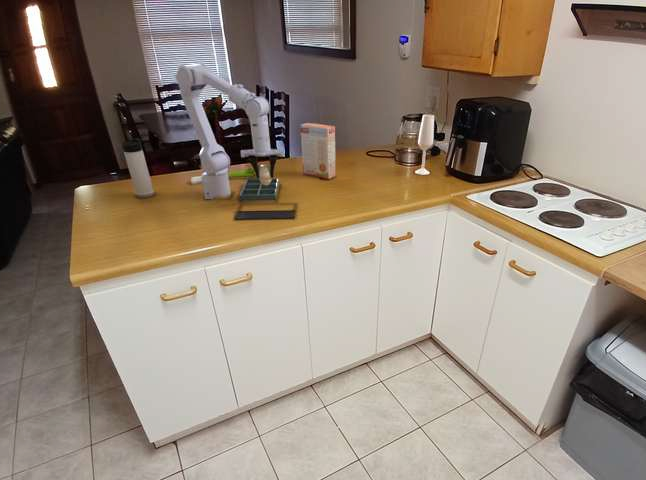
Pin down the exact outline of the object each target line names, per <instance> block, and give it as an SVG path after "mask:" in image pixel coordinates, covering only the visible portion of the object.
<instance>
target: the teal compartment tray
mask: <svg viewBox="0 0 646 480" xmlns="http://www.w3.org/2000/svg"><path fill="white" fill-rule="evenodd" d="M280 181H281V180H280V178H278V177H277V178H276V177H275V178H272V180H271V182H270V183H269V185H263V184H262V183H261V182H260V180H259V179H258V178H246V180H245V182H244V184H243V186H242V189H241V191H240V193H239V201H241V202H244V201H245V202H246V201H248V202H249V201H252V202H253V201H254V202H255V201H277V198H278V193H279V188H280V184H281V182H280Z"/></svg>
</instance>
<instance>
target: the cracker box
mask: <svg viewBox="0 0 646 480" xmlns="http://www.w3.org/2000/svg"><path fill="white" fill-rule="evenodd" d="M300 140H301V141H300V143H301V158H302V159H301V161H302V175H304V176H315V177H319V178H321V179H324V180H330V179H333V178H335V177H336V126H335V125H327V124H321V123H312V122H306V123H301V124H300Z"/></svg>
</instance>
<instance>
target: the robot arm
mask: <svg viewBox="0 0 646 480" xmlns="http://www.w3.org/2000/svg"><path fill="white" fill-rule="evenodd" d="M174 76H175V80H176V82H177V84H178V87H179V91H180V93H179V94H180V96H181V99H182V102H183V104H184V107H185V109H186V112H187V114H188V117H189V119H190V121H191V124H192V126H193V129H194V132H195V134H196V136H197V139H198V141H199V144H200V146H201V150H200V152H199V154H198V156H199V159H200V166H201V169H202V171H204V172H202V174H201V176H202V188H203V189H202V190H203V194H204V200H214V199H215V198H224V197H228V196H230V195H231V186H230V178H228V173H229V167H230V165H231V159H230V156H229V155H228V154H227V153H226V151H225V148H224V147H223V146H222V145H220V144H218V143H217V140H216V138H215V134H214V132H213V130H212V126H211V124H210V122H209V119H208V117H207V115H206V111H205V109H204V106H203V104H202V100H201V98H200V96H201V93H202V91H203V90H204V89H205V88H206V87H207V85H208V86H210V87H211V88H214V89H216V90H217V91H219V92H221V93H223V94H224V95H226V96H227V97H228V100H229V102H231V103H232V104H234V105H235V106H237V107H239V108H240V109H242V110H243V111H245V114H246V116H247V118H248V121H249V124H250V131H251V140H252V149H241V150H240V157H241V158H245V157H247V158H248V162H249V163H250V165H251V166H252V167H251V168H252V169H253V168H254V171H255V173H254V174H256V176H257V177H256V179H258V178H259V173H258V166H259V161H258V157H269V158H268V159H269V167H270V169H271V178H272V179H274V173H275V171H274V170H275V167H276V166H275V165H276V163H277V160H278V157H282V158H283V157H285V150H284V149H277V148H271V140H270V129H269V117H268V114H269V113H270V111H271V105H270V102H269V100H268V99H267V98H265V96H263V95H259V96H257V95H256V93H254V92H251V91H249V90H247V89H246V88H245V87H244V85H243V84H242V83H241V84H238V83H235V84H232V83H230V82H228V81H227V80H226V79H224V78H222V77H221V76H220V75H218V74H217V73H216V72H215V71H213V70H212V68H211V67H209V66H206V65H205V64H204V63H194V64H180V65H179V66H178V67H177V69H176V73H175V75H174Z"/></svg>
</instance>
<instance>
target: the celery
mask: <svg viewBox="0 0 646 480" xmlns="http://www.w3.org/2000/svg"><path fill="white" fill-rule="evenodd" d="M260 166H261V165H258V169H259V167H260ZM233 178H257V176H256V173H255V171H254V168H253V167H248V168H247V169H246V170H241V171H232V172H228V179H233ZM257 179H259V178H257ZM190 180H191V185H192V186H193V185H196V184H201V183H202V175H201V176H194V177H191V179H190Z"/></svg>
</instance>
